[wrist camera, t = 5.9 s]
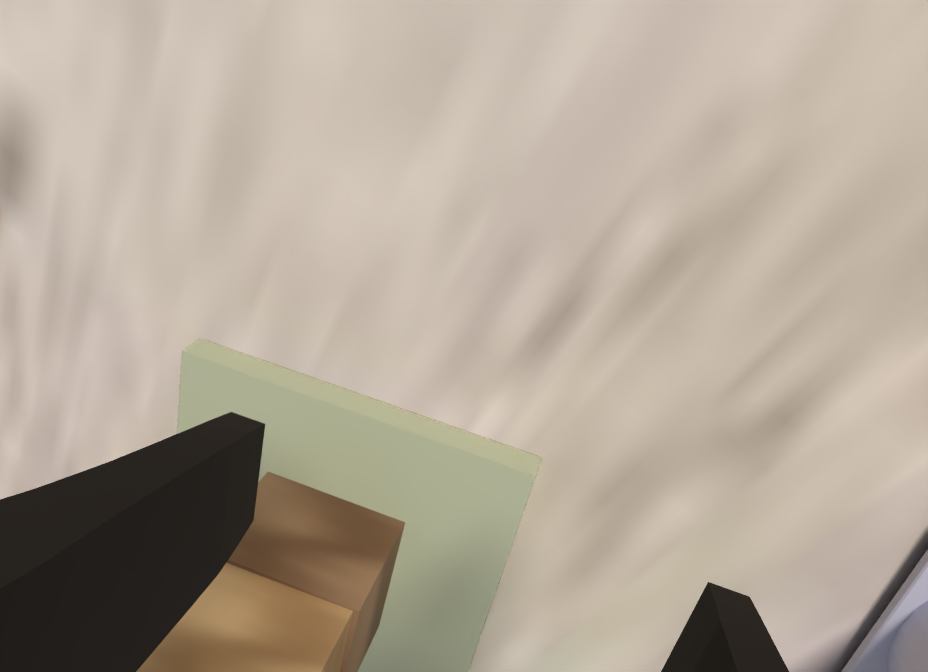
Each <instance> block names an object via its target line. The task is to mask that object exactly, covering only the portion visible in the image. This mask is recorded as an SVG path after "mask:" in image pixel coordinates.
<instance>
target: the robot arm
mask: <svg viewBox="0 0 928 672" xmlns="http://www.w3.org/2000/svg"><path fill="white" fill-rule="evenodd" d="M264 431H265V424H264V423H261V422H259V421H256V420H253V419H250V418H247V417H245V416H242V415H239V414H236V413H233V412H230V413H227V414H224V415H222V416H219V417H217V418H214V419H212V420H209V421H207V422H204V423H202V424H200V425H197V426H195V427H193V428H190V429H188V430H185V431H183V432H181V433H178V434H176V435H174V436H171V437H169V438H167V439H164V440H162V441H159V442H157V443H155V444H152V445H150V446H147V447H145V448H142V449H140V450H137V451H135V452H133V453H130V454H128V455H125V456H123V457H120V458H118V459H115V460H113V461H110V462H108V463H105V464H102V465H100V466H97V467H94V468H91V469H88V470H86V471H83V472H80V473H77V474H75V475H72V476H69V477H66V478H64V479H61V480H58V481H55V482H53V483H50V484H47V485H44V486H41V487H39V488H36V489H33V490H29V491H26V492H23V493H20V494H17V495H14V496H10V497H7V498H4V499H1V500H0V672H136V671H137V670H138V669H139V668H140V667H141V666H142V664H143V663H144V662H145V661H146V660H147V658H148V657H149V656H150V655H151V654H152V653H153V651H154V650H155V649H156V648H157V647H158V646H159V644H160V643H161V642H162V641H163V640H164V638H165V637H166V636H167V635H168V634H169V633H170V631H171V630H172V629H173V628H174V627H175V626H176V624H177V623H178V622H179V621H180V620H181V618H182V617H183V616H184V615H185V614H186V613H187V611H188V610H189V609H190V608H191V607H192V605H193V604H194V603H195V602H196V601H197V599H198V598H199V597H200V596H201V595H202V593H203V592H204V591H205V590H206V589H207V588H208V586H209V585H210V584H211V583H212V581H213V580H214V579H215V578H216V577H217V575H218V574H219V573H220V571H221V570H222V568H223V567H224V565H225V564H226V562H227V561H228V559H229V558H230V557H231V555H232V554H233V552H234V551H235V549H236V547H237V546H238V544H239V543H240V541H241V540H242V538H243V536H244V535H245V533H246V532H247V530H248V529H249V527H250V525H251V524H252V522H253V521H254V513H255V505H256V497H257V489H258V480H259V472H260V464H261V456H262V447H263V439H264ZM661 672H789V671H788V669H787V667H786V665H785V663H784V661H783V659H782V657H781V656H780V654H779V652H778V650H777V648H776V646H775V644H774V642H773V640H772V638H771V636H770V635H769V633H768V631H767V629H766V627H765V625H764V623H763V621H762V619H761V617H760V615H759V614H758V612H757V610H756V608H755V606H754V604H753V602H752V600H751V599H750V597H749V596H746V595H743V594H740V593H737V592H735V591H732V590H729V589H726V588H723V587H721V586H718V585H715V584H712V583H709V582H708V584H707V585H706V587H705V589H704V591H703V593H702V595H701V597H700V599H699V601H698V603H697V604H696V606H695V608H694V610H693V612H692V614H691V616H690V618H689V620H688V622H687V624H686V625H685V627H684V629H683V631H682V633H681V635H680V637H679V639H678V641H677V643H676V645H675V646H674V648H673V650H672V652H671V654H670V656H669V658H668V660H667V662H666V664H665V665H664V667H663V669H662V671H661ZM841 672H928V549H927V551H926V552H925V554H924V555H923V557H922V558H921V559H920V561H919V562H918V564H917V565H916V566H915V568H914V569H913V571H912V572H911V574H910V575H909V576H908V578H907V579H906V581H905V582H904V583H903V585H902V586H901V588H900V589H899V591H898V592H897V593H896V595H895V596H894V598H893V599H892V601H891V602H890V603H889V605H888V606H887V608H886V609H885V610H884V612H883V613H882V615H881V616H880V618H879V619H878V620H877V622H876V623H875V625H874V626H873V627H872V629H871V630H870V632H869V633H868V635H867V636H866V637H865V639H864V640H863V642H862V643H861V644H860V646H859V647H858V649H857V650H856V652H855V653H854V654H853V656H852V657H851V659H850V660H849V662H848V663H847V664H846V666H845V667H844V669H843V670H842V671H841Z"/></svg>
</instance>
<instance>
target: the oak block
mask: <svg viewBox="0 0 928 672" xmlns="http://www.w3.org/2000/svg"><path fill="white" fill-rule="evenodd" d="M352 614H353V611H351V610H349V609H346V608H344V607H341V606H338V605H336V604H333V603H330V602H328V601H325V600H323V599H320V598H317V597H315V596H312V595H310V594H307V593H304V592H302V591H299V590H297V589H294V588H291V587H289V586H286V585H284V584H281V583H278V582H276V581H273V580H270V579H268V578H265V577H263V576H260V575H257V574H255V573H252V572H250V571H247V570H244V569H242V568H239V567H237V566H234V565H231V564H229V563H226V564H225V565H224V567H223V568H222V570H221V571H220V573H219V574H218V575H217V577H216V578H215V579H214V580H213V581H212V583H211V584H210V585H209V586H208V588H207V589H206V590H205V591H204V592H203V593H202V595H201V596H200V597H199V598H198V599H197V601H196V602H195V603H194V604H193V605H192V607H191V608H190V609H189V610H188V611H187V613H186V614H185V615H184V616H183V617H182V618H181V620H180V621H179V622H178V623H177V624H176V626H175V627H174V628H173V629H172V630H171V631H170V633H169V634H168V635H167V636H166V637H165V638H164V640H163V641H162V642H161V643H160V644H159V646H158V647H157V648H156V649H155V650H154V651H153V653H152V654H151V655H150V656H149V657H148V658H147V660H146V661H145V662H144V663H143V664H142V666H141V667H140V668H139V669H138V670H137V671H136V672H340V670H341V666H342V661H343V656H344V651H345V647H346V642H347V637H348V633H349V628H350V623H351V619H352Z"/></svg>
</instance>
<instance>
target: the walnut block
mask: <svg viewBox="0 0 928 672" xmlns="http://www.w3.org/2000/svg"><path fill="white" fill-rule="evenodd" d="M404 526H405V522H403V521H400V520H398V519H395V518H392V517H389V516H387V515H384V514H381V513H379V512H376V511H373V510H371V509H368V508H365V507H363V506H360V505H357V504H354V503H352V502H349V501H346V500H344V499H341V498H338V497H336V496H333V495H330V494H327V493H325V492H322V491H319V490H317V489H314V488H311V487H309V486H306V485H303V484H300V483H298V482H295V481H292V480H290V479H287V478H284V477H282V476H279V475H276V474H274V473H271V472H267V473H266V474H265V476H264V477H263V478H262V479H261V480H260V481H259V482H258V489H257V497H256V505H255V513H254V521H253V522H252V524H251V525H250V527H249V529H248V530H247V532H246V533H245V535H244V536H243V538H242V540H241V541H240V543H239V544H238V546H237V547H236V549H235V551H234V552H233V554H232V555H231V557H230V558H229V559H228V561H227V562H226V563H229V564H231V565H234V566H237V567H239V568H242V569H244V570H247V571H250V572H252V573H255V574H257V575H260V576H263V577H265V578H268V579H270V580H273V581H276V582H278V583H281V584H284V585H286V586H289V587H291V588H294V589H297V590H299V591H302V592H304V593H307V594H310V595H312V596H315V597H317V598H320V599H323V600H325V601H328V602H330V603H333V604H336V605H338V606H341V607H344V608H346V609H349V610H351V611H353V614H352V619H351V623H350V628H349V633H348V637H347V642H346V647H345V651H344V656H343V661H342V666H341V670H340V672H358V670H359V668H360V665H361V663H362V661H363V659H364V657H365V655H366V653H367V651H368V648H369V646H370V644H371V642H372V640H373V638H374V636H375V634H376V631H377V629H378V627H379V624H380V620H381V616H382V612H383V608H384V605H385V601H386V597H387V593H388V589H389V585H390V581H391V577H392V573H393V569H394V565H395V561H396V557H397V554H398V550H399V546H400V542H401V538H402V534H403V530H404Z"/></svg>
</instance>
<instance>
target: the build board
mask: <svg viewBox="0 0 928 672" xmlns="http://www.w3.org/2000/svg"><path fill="white" fill-rule="evenodd" d="M230 412H233V413H236V414H239V415H242V416H245V417H247V418H250V419H253V420H256V421H259V422H261V423H264V424H265V431H264V439H263V447H262V456H261V464H260V472H259V480H258V482H259V481H260V480H261V479H262V478H263V477H264V476H265V474H266V473H267V472H271V473H274V474H276V475H279V476H282V477H284V478H287V479H290V480H292V481H295V482H298V483H300V484H303V485H306V486H309V487H311V488H314V489H317V490H319V491H322V492H325V493H327V494H330V495H333V496H336V497H338V498H341V499H344V500H346V501H349V502H352V503H354V504H357V505H360V506H363V507H365V508H368V509H371V510H373V511H376V512H379V513H381V514H384V515H387V516H389V517H392V518H395V519H398V520H400V521H403V522H405V526H404V530H403V534H402V538H401V542H400V546H399V550H398V554H397V557H396V561H395V565H394V569H393V573H392V577H391V581H390V585H389V589H388V593H387V597H386V601H385V605H384V608H383V612H382V616H381V620H380V624H379V627H378V629H377V631H376V634H375V636H374V638H373V640H372V642H371V644H370V646H369V648H368V651H367V653H366V655H365V657H364V659H363V661H362V663H361V665H360V668H359V670H358V672H468V669H469V666H470V664H471V661H472V658H473V655H474V652H475V649H476V646H477V644H478V641H479V638H480V635H481V632H482V629H483V626H484V624H485V621H486V618H487V615H488V612H489V609H490V606H491V604H492V601H493V598H494V595H495V592H496V589H497V586H498V584H499V581H500V578H501V575H502V572H503V569H504V566H505V564H506V561H507V558H508V555H509V552H510V549H511V546H512V544H513V541H514V538H515V535H516V532H517V529H518V526H519V524H520V521H521V518H522V515H523V512H524V509H525V506H526V504H527V501H528V498H529V495H530V492H531V489H532V486H533V484H534V481H535V478H536V475H537V471H538V468H539V464H540V460H541V458H540V457H538V456H535V455H532V454H529V453H526V452H523V451H520V450H517V449H515V448H512V447H509V446H506V445H503V444H500V443H497V442H495V441H492V440H489V439H486V438H483V437H480V436H477V435H475V434H472V433H469V432H466V431H463V430H460V429H457V428H455V427H452V426H449V425H446V424H443V423H440V422H437V421H435V420H432V419H429V418H426V417H423V416H420V415H417V414H414V413H412V412H409V411H406V410H403V409H400V408H397V407H394V406H392V405H389V404H386V403H383V402H380V401H377V400H374V399H372V398H369V397H366V396H363V395H360V394H357V393H354V392H352V391H349V390H346V389H343V388H340V387H337V386H334V385H331V384H329V383H326V382H323V381H320V380H317V379H314V378H311V377H309V376H306V375H303V374H300V373H297V372H294V371H291V370H289V369H286V368H283V367H280V366H277V365H274V364H271V363H269V362H266V361H263V360H260V359H257V358H254V357H251V356H249V355H246V354H243V353H240V352H237V351H234V350H231V349H228V348H226V347H223V346H220V345H217V344H214V343H211V342H208V341H206V340H203V339H198V340H197V341H195V342H194V343H192V344H191V345H190V346H188V347H187V348H185V349H184V350H182V359H181V375H180V392H179V408H178V425H177V434H178V433H181V432H183V431H185V430H188V429H190V428H193V427H195V426H197V425H200V424H202V423H204V422H207V421H209V420H212V419H214V418H217V417H219V416H222V415H224V414H227V413H230Z"/></svg>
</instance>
